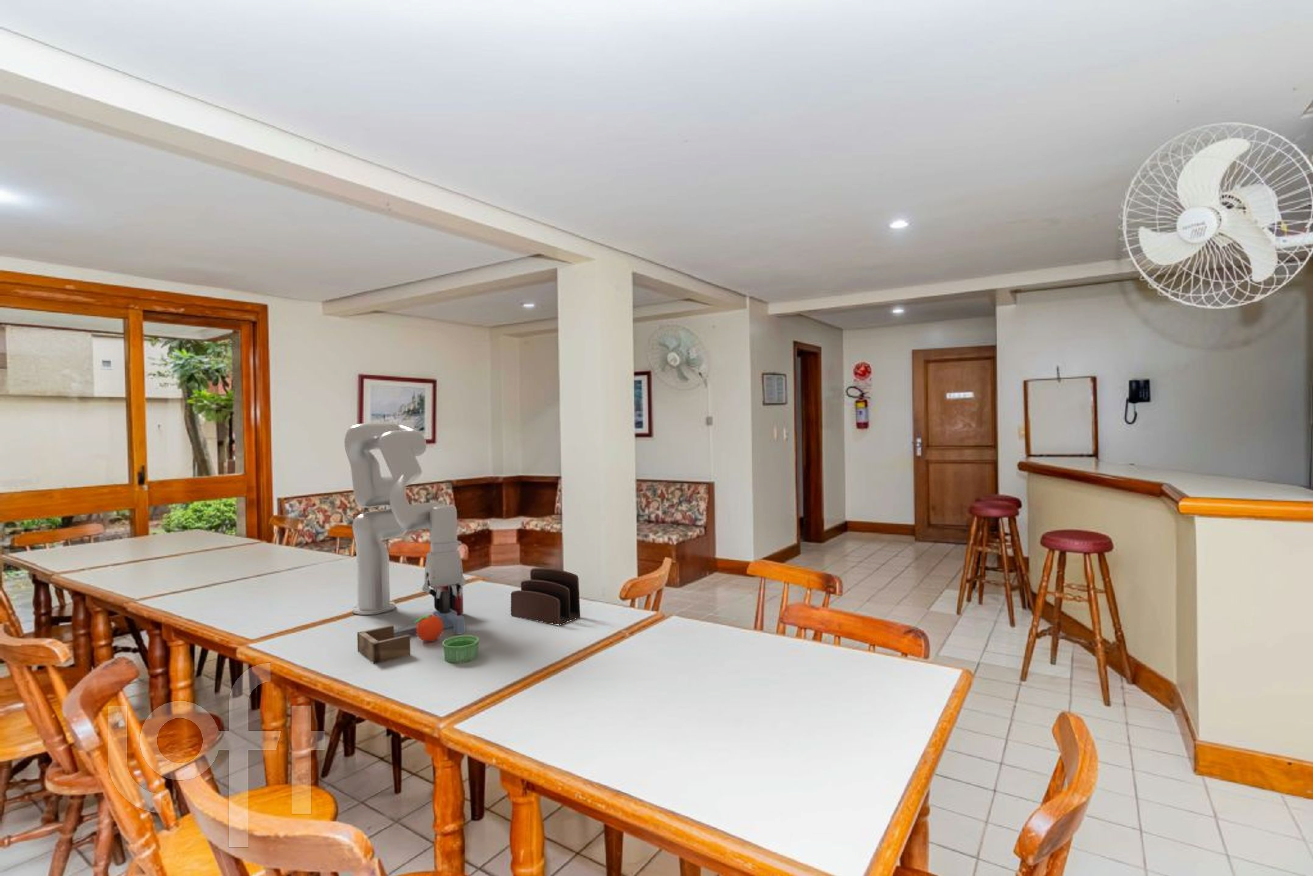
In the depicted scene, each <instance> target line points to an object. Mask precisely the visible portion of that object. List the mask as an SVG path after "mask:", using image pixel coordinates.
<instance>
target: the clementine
mask: <svg viewBox="0 0 1313 876" xmlns="http://www.w3.org/2000/svg"><path fill="white" fill-rule="evenodd" d="M417 622H418V623H417ZM416 623H417V624H418V625H417V634H418V635H417V636H418V638H419V639H420V640H422V641H424V642H434V641H436V640H437V639H439V638H440V637H441V635H442V633H443V632H444V629H443V623H442V621H441V620H440V619H439V618H438V617H436V616H434V615H433V614H429V615H426V616H421V617H419V618H417V620H415V621H414V623H413V625H416Z"/></svg>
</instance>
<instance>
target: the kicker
mask: <svg viewBox="0 0 1313 876" xmlns="http://www.w3.org/2000/svg"><path fill="white" fill-rule="evenodd" d="M440 598H442V612H439V611H437V610H435V611H432V612H433V613H432V615H434V616H436V617H438V618H439V619H440V620H441V621H442V623H443V628H444V629H448V628H451V627H453V633H454V634H456V635H462V634H464V633H465V617H464V616H462V615H461V616H457V612H456V611H454V610H452V609H450V591H449V590H444V591H441V593H440ZM447 627H448V628H447Z"/></svg>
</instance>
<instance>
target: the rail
mask: <svg viewBox="0 0 1313 876" xmlns="http://www.w3.org/2000/svg"><path fill="white" fill-rule="evenodd" d="M417 625H418V623H417V624H416V623H415V624H413V625H407V626H404V627H403V626H402V627H399V628H394V638H395V637H400V636H404V635H410V637H412V636H411V635H414V636H417V635H416V634H417Z"/></svg>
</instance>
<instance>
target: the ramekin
mask: <svg viewBox="0 0 1313 876" xmlns="http://www.w3.org/2000/svg"><path fill="white" fill-rule="evenodd" d="M479 643H480V638H479V636H476V635H471V634H464V635H463V634H459V635H456V636H455V635H454V636H451V637H448V638H446V639H444V640H443V641H442V647H443V653H444V656H443V657H444V660H445V661H446V662H448V663H451V662H453V664H458V663H459V662H462V663H466V661H467V662H470V661H472V660H475V659H476V658H477V657H478V654H479ZM459 664H460V663H459Z"/></svg>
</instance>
